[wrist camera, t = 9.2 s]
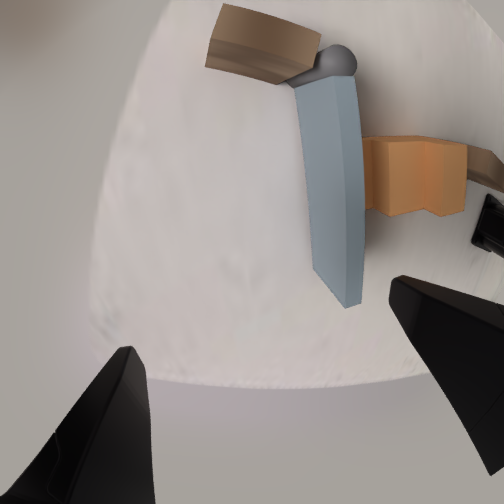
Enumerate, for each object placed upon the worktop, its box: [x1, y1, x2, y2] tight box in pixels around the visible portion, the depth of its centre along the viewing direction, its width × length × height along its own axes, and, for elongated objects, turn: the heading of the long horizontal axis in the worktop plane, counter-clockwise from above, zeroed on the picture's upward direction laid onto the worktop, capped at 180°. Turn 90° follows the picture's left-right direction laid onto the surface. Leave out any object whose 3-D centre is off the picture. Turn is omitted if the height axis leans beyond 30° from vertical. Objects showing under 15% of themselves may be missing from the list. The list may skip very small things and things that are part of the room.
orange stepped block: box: [362, 136, 467, 217], centre depth 17 cm, size 10×5×6 cm, turn 99°
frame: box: [205, 3, 504, 193], centre depth 15 cm, size 26×2×6 cm, turn 75°
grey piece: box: [287, 45, 365, 308], centre depth 16 cm, size 15×2×6 cm, turn 9°
